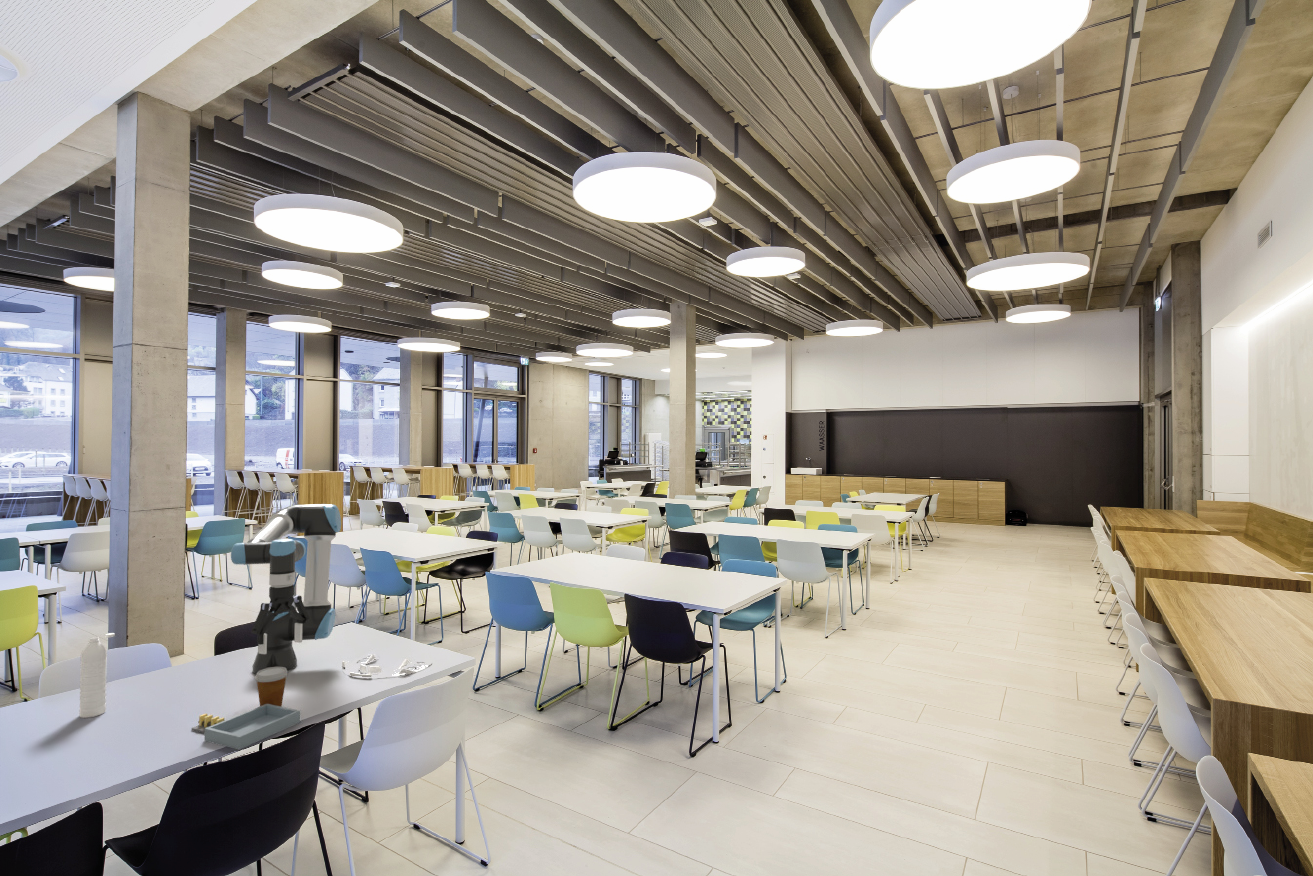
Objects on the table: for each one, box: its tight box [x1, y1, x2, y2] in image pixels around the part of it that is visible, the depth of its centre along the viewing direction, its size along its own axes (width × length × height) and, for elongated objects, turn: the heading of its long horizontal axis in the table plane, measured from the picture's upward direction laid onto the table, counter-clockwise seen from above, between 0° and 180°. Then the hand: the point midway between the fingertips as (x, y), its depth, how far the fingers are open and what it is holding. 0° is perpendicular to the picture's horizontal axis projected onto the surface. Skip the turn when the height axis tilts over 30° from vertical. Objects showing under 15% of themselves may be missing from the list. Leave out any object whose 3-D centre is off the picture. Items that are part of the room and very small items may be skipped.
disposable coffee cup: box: [254, 667, 289, 707], centre depth 215 cm, size 10×10×12 cm
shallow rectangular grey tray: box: [204, 704, 301, 750], centre depth 197 cm, size 15×20×4 cm
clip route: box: [191, 713, 226, 735], centre depth 198 cm, size 11×6×4 cm, turn 69°
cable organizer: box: [341, 654, 429, 677], centre depth 254 cm, size 35×24×3 cm
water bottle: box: [79, 632, 116, 719], centre depth 210 cm, size 9×6×25 cm
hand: (280, 647), depth 217 cm, fingers open, 13 cm apart
